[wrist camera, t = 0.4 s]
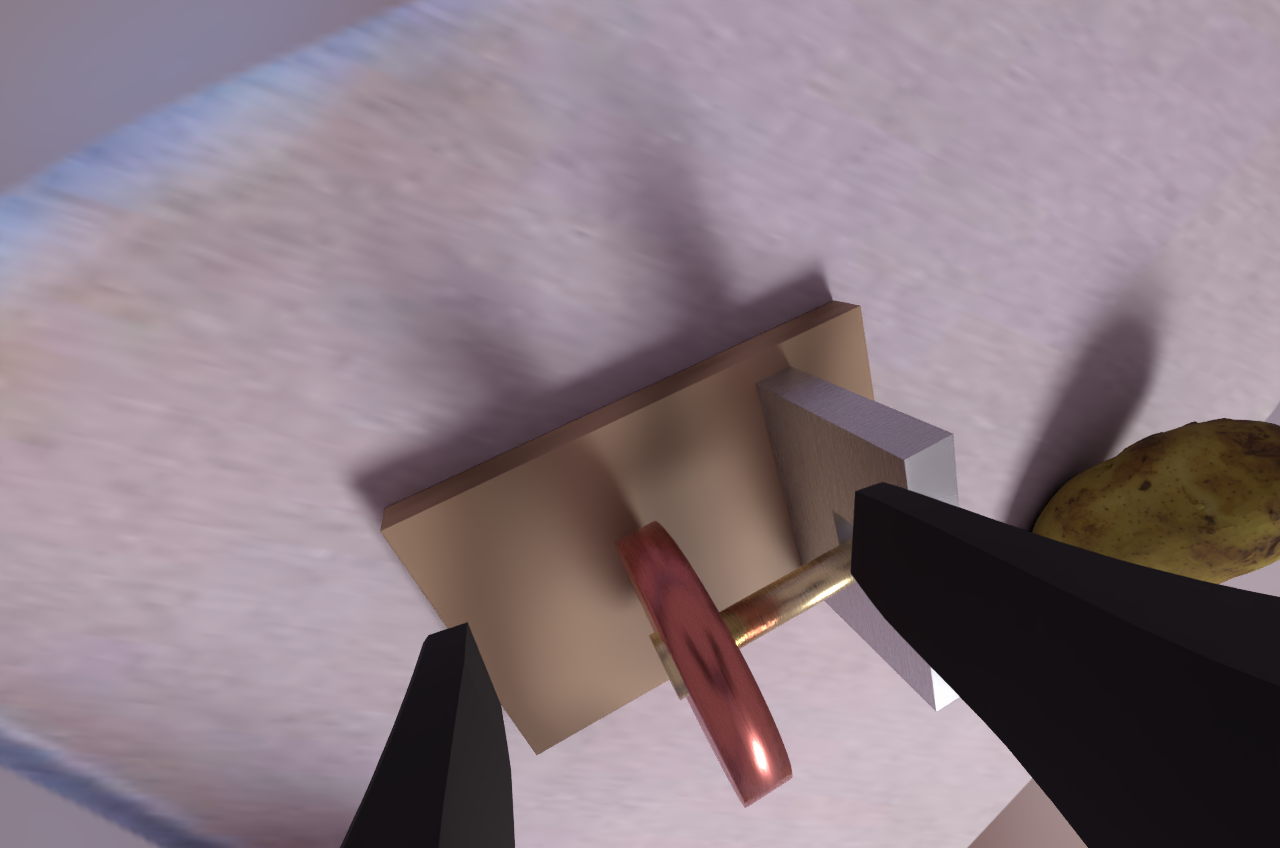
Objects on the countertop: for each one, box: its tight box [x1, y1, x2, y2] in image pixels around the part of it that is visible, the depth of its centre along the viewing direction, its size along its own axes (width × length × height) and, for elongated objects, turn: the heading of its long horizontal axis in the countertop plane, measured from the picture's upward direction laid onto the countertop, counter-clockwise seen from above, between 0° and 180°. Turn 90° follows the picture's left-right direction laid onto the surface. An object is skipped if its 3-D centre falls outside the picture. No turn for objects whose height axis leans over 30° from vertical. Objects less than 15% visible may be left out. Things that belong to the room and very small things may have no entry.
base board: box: [380, 301, 874, 755], centre depth 21 cm, size 18×12×2 cm, turn 109°
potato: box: [1032, 418, 1280, 584], centre depth 27 cm, size 8×13×8 cm, turn 129°
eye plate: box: [755, 366, 960, 712], centre depth 18 cm, size 2×10×7 cm, turn 19°
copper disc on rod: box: [614, 521, 856, 808], centre depth 17 cm, size 11×8×8 cm
